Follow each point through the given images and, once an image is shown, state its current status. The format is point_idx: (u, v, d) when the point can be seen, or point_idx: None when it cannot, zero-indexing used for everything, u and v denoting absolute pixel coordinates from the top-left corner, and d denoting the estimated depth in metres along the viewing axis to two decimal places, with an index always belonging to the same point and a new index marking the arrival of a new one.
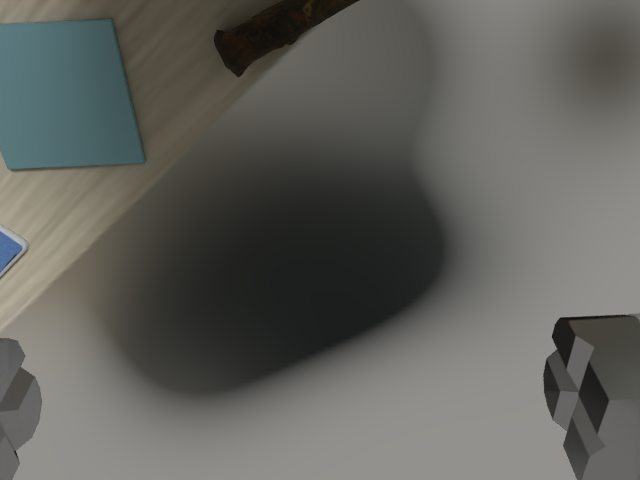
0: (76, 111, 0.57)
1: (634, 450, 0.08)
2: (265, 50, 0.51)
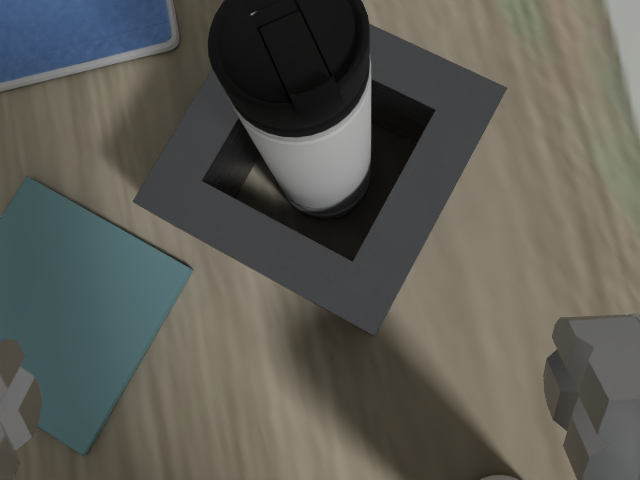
0: (26, 323, 0.41)
1: (634, 450, 0.08)
2: None
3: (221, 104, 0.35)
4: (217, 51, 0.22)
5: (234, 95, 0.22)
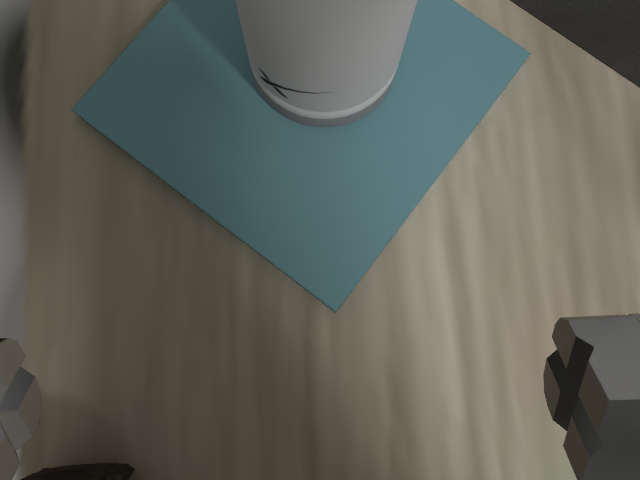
0: (257, 94, 0.25)
1: (634, 450, 0.08)
2: None
3: None
4: None
5: None
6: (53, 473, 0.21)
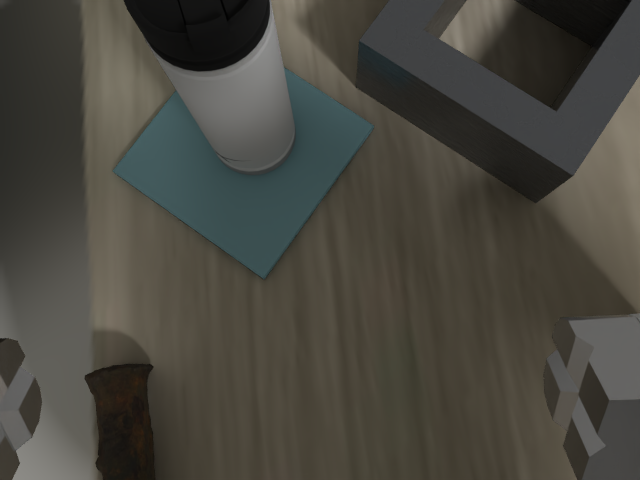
0: (216, 157, 0.44)
1: (634, 450, 0.08)
2: (101, 427, 0.38)
3: None
4: None
5: (138, 22, 0.25)
6: (111, 366, 0.40)
